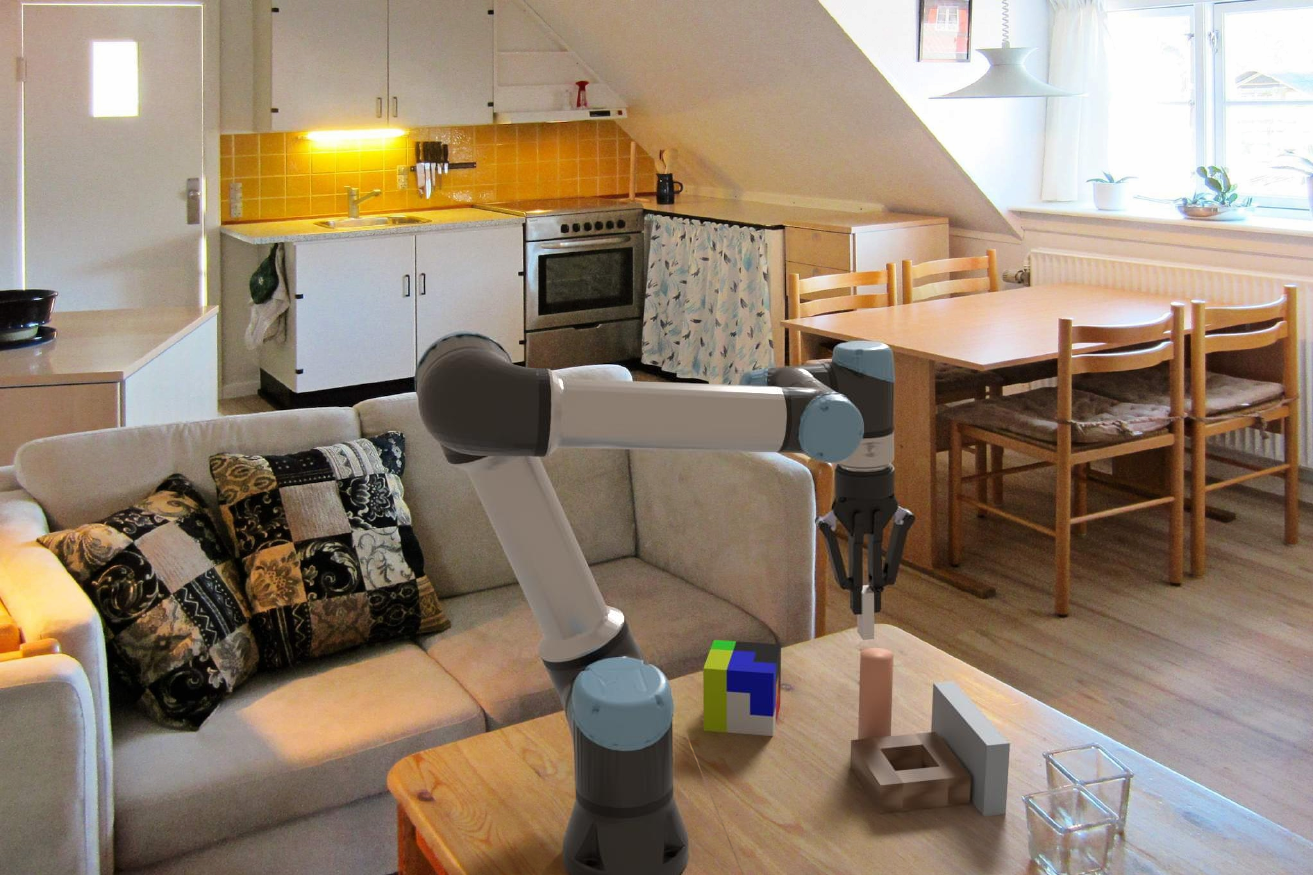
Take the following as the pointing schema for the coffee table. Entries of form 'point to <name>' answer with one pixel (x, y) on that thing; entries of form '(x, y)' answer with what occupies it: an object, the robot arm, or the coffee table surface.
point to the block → (909, 772)
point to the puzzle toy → (742, 687)
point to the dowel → (875, 693)
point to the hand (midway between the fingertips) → (865, 635)
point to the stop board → (973, 745)
